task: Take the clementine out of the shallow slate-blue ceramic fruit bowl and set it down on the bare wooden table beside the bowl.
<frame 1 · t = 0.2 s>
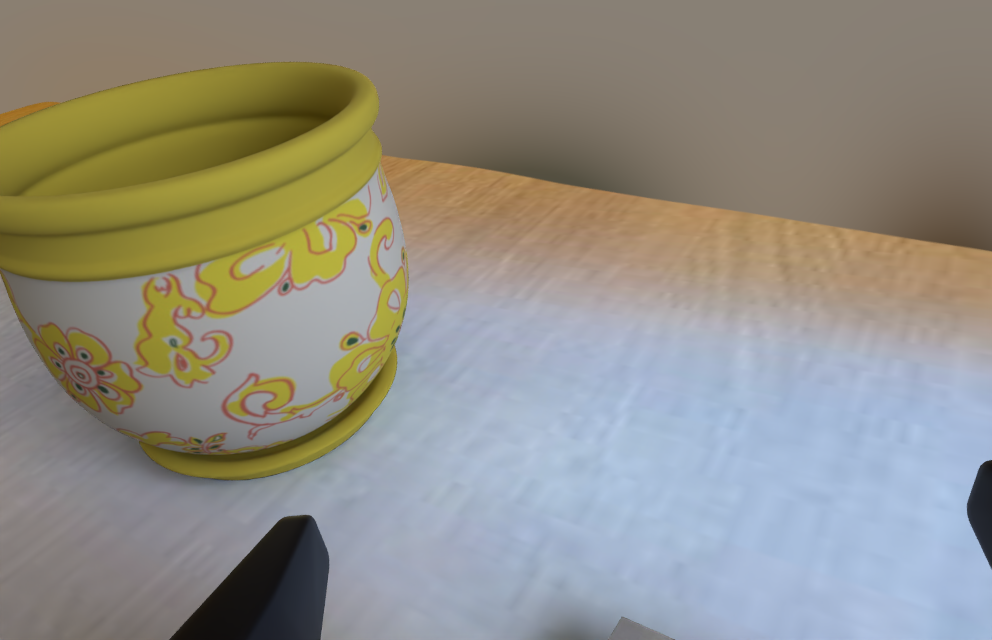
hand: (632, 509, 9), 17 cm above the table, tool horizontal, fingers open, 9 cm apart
flowerpot: (278, 401, 39), on the table
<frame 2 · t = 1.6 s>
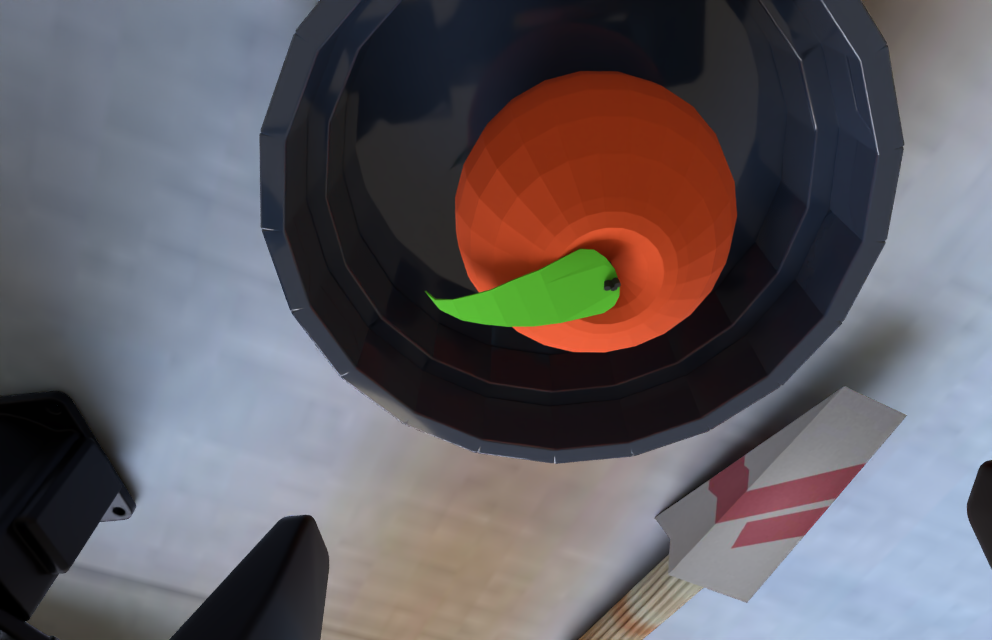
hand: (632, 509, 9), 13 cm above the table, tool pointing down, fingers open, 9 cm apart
paintbrush: (687, 532, 29), on the table
fruit bowl: (560, 171, 20), on the table
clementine: (561, 172, 20), resting on fruit bowl
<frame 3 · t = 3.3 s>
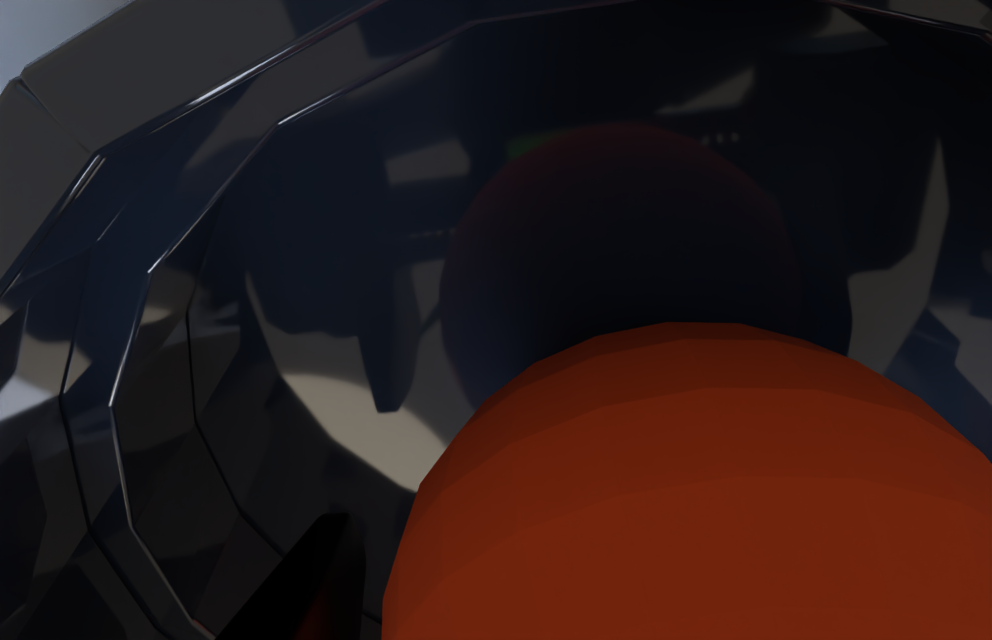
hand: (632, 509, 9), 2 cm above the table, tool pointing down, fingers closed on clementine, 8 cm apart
fruit bowl: (608, 419, 11), on the table
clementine: (607, 423, 11), resting on fruit bowl, touching gripper
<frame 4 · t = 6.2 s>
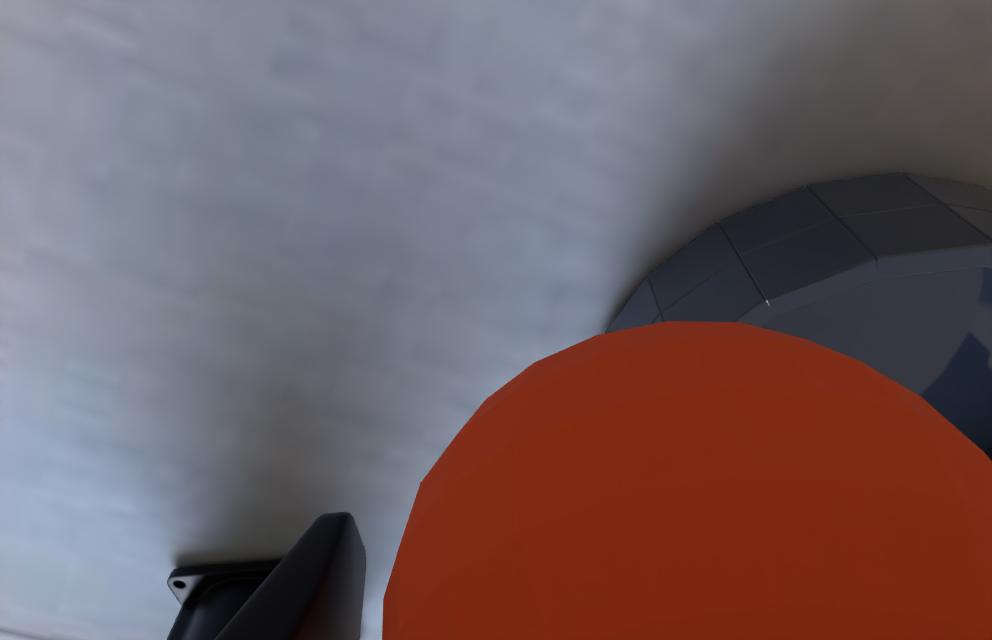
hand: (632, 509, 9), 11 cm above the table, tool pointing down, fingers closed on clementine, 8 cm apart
fruit bowl: (818, 392, 22), on the table
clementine: (608, 423, 11), point 9 cm above the table, touching gripper
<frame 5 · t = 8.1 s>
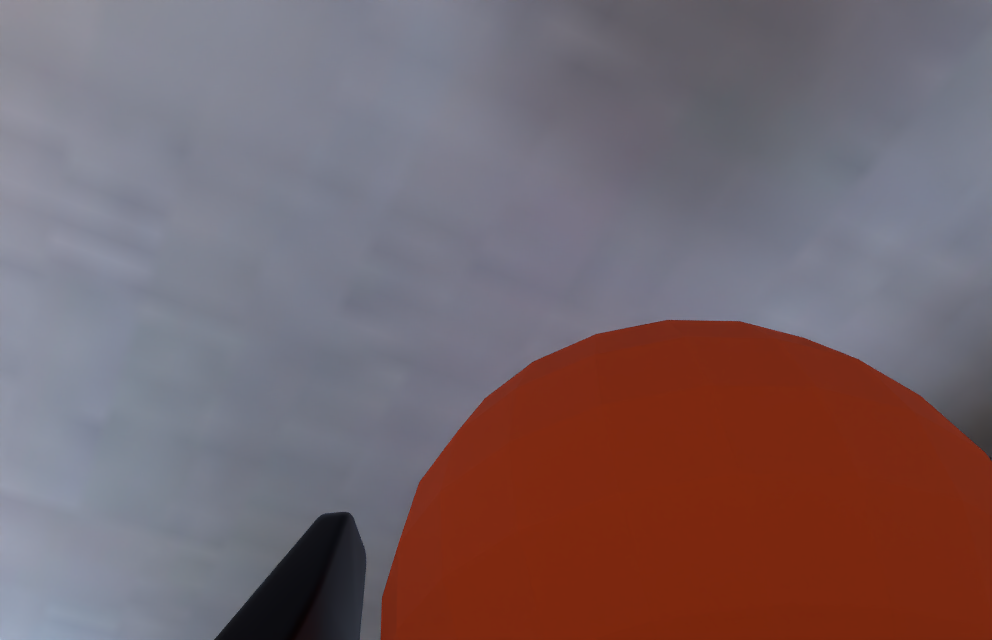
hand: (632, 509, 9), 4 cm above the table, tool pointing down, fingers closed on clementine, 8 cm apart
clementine: (607, 422, 11), point 2 cm above the table, touching gripper
when the fingers open (2 cm above the table, at t = 9.4 s): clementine stays where it is, on the table.
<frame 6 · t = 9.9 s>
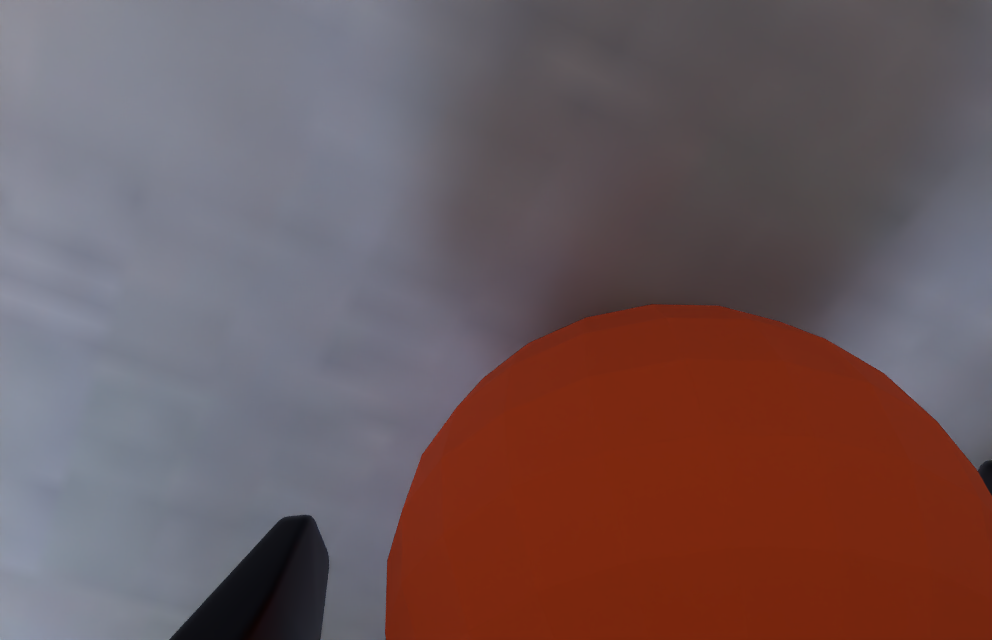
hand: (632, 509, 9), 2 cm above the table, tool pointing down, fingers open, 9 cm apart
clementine: (600, 406, 11), on the table
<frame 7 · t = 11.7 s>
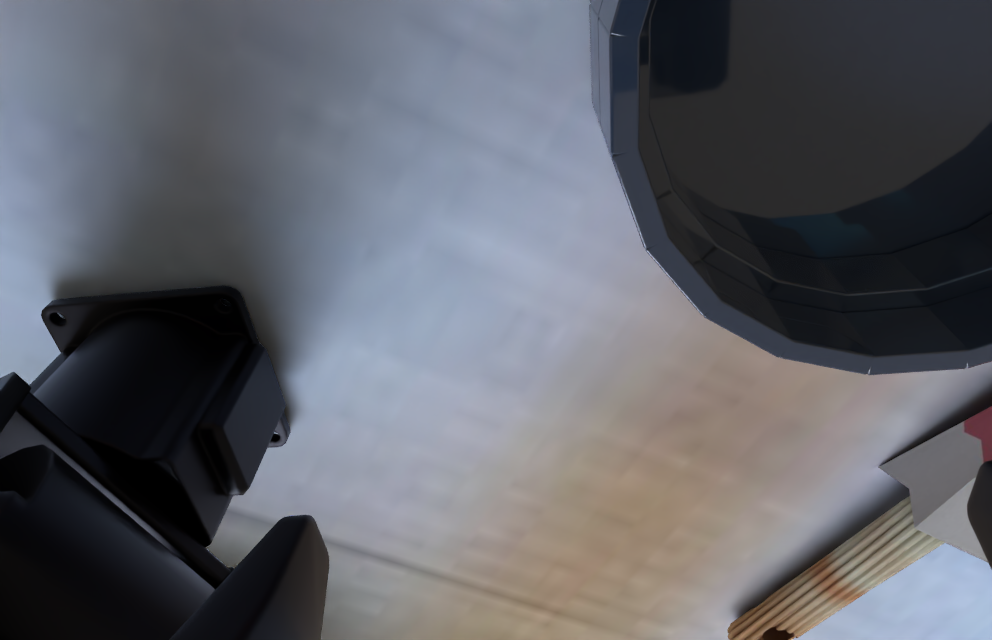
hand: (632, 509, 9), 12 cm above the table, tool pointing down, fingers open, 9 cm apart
paintbrush: (907, 486, 26), on the table
fruit bowl: (896, 19, 17), on the table
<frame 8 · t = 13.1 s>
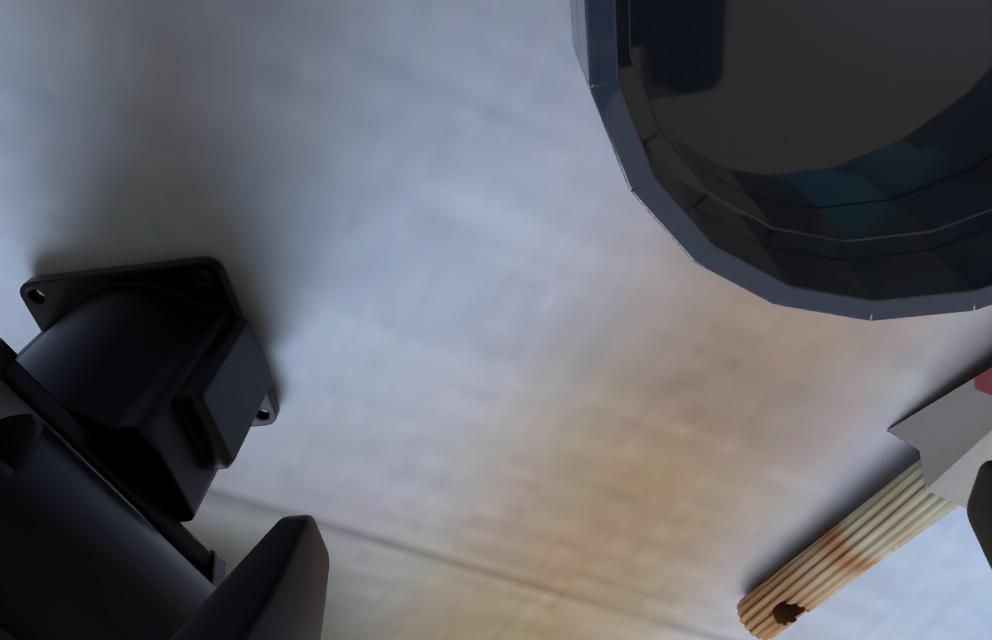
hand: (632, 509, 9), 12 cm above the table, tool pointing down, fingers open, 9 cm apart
paintbrush: (918, 450, 25), on the table
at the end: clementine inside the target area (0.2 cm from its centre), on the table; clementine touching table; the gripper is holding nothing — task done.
